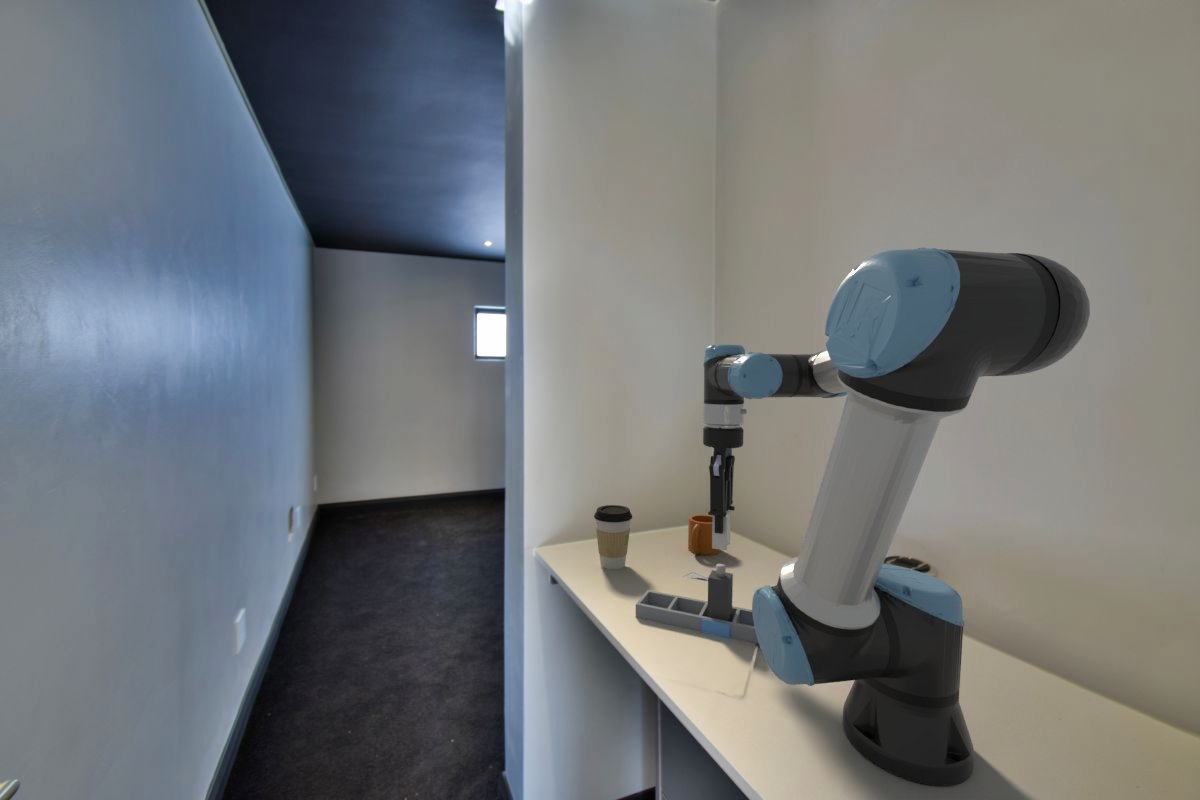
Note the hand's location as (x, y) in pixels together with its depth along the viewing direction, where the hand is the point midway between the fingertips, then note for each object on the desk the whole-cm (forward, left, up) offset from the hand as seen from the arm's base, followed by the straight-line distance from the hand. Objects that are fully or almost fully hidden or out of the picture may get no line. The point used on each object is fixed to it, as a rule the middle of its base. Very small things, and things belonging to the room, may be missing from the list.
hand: (721, 545), depth 97 cm
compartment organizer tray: (0, +3, -17) cm, 17 cm away
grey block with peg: (0, 0, -16) cm, 16 cm away
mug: (+41, +13, -17) cm, 46 cm away
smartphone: (+16, +11, -17) cm, 26 cm away
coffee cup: (+20, +31, -17) cm, 41 cm away
